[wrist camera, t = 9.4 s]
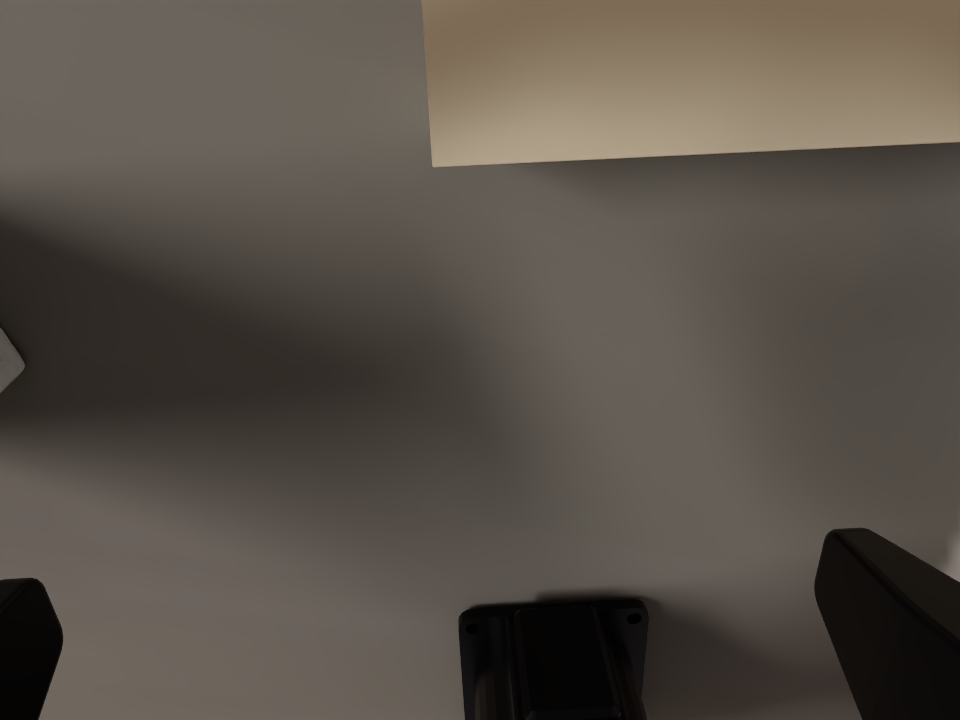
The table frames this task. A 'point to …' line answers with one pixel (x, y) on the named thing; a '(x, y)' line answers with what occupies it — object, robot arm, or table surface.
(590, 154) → the frame with crossbar
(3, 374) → the syrup box
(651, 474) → the table surface
